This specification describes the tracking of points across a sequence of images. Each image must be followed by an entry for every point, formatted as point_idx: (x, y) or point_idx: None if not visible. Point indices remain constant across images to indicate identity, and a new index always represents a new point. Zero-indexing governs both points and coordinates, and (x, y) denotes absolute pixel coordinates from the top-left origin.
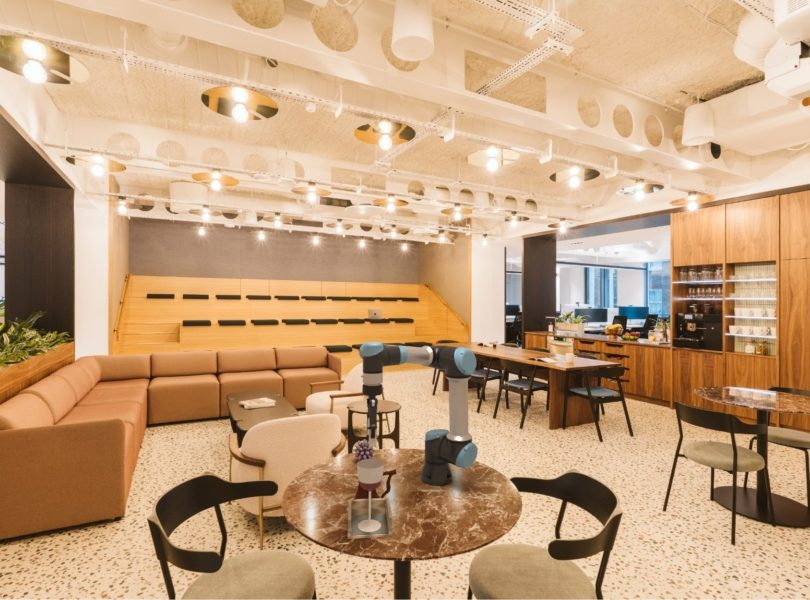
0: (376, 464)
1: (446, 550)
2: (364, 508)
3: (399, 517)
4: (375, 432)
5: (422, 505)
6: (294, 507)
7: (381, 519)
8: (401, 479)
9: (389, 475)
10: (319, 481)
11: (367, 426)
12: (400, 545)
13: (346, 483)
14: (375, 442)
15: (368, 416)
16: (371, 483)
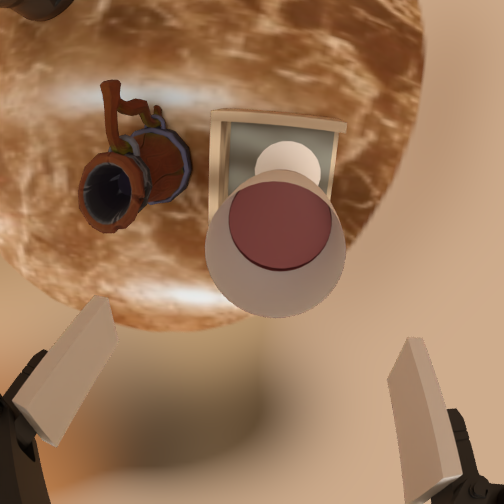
0: (222, 204)
1: (420, 14)
2: (224, 185)
3: (242, 79)
4: (448, 447)
5: (183, 8)
6: (168, 323)
7: (260, 134)
8: (42, 69)
9: (119, 106)
10: (60, 268)
11: (88, 390)
12: (383, 109)
13: (59, 210)
14: (428, 371)
15: (35, 446)
16: (331, 227)
